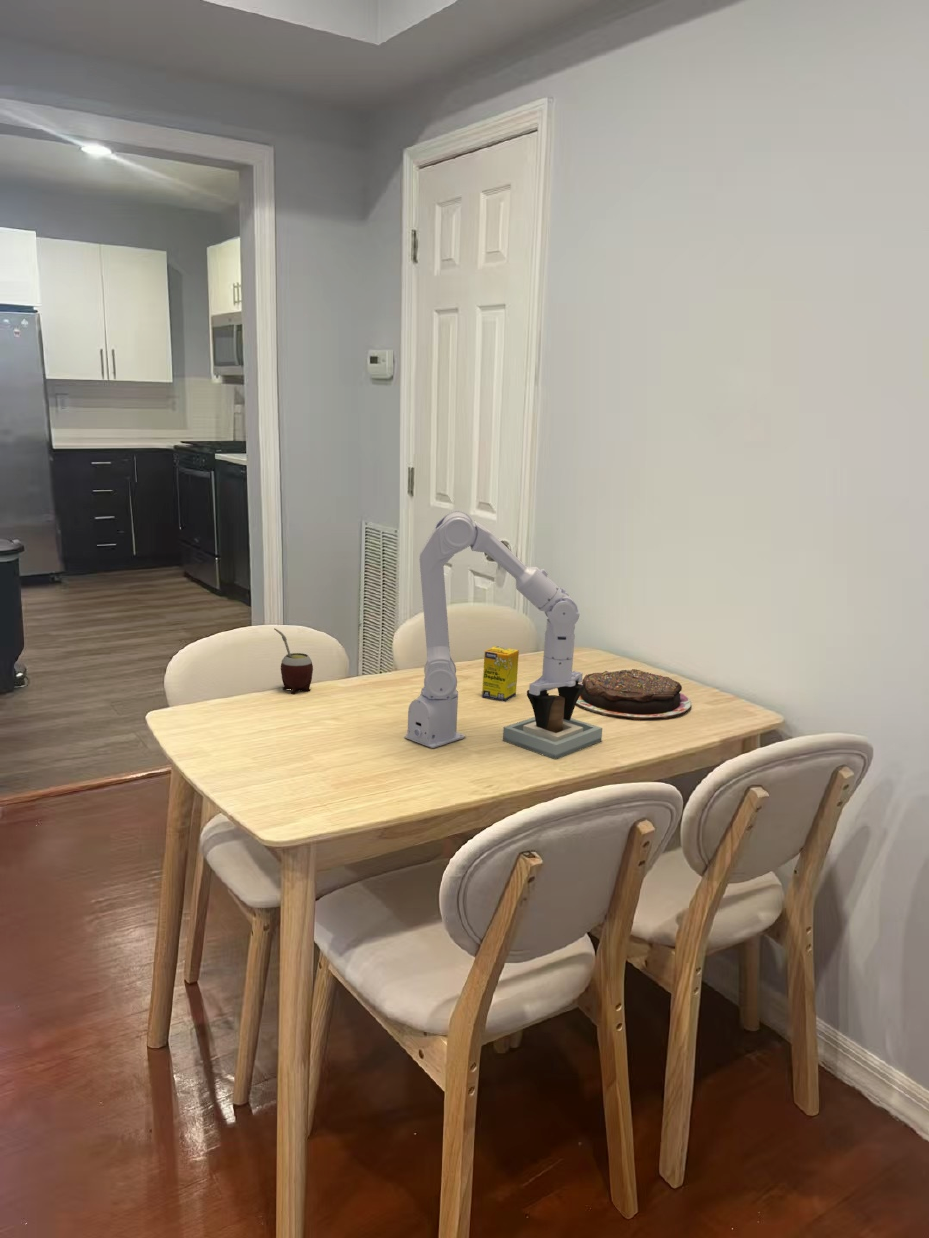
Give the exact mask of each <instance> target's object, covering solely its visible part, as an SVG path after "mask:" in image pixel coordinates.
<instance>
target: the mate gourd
mask: <svg viewBox="0 0 929 1238" xmlns="http://www.w3.org/2000/svg"><path fill="white" fill-rule="evenodd" d="M273 629H274V631H276V632H277V633H278V634H279V635H280V636H281V639H282V641H283V642H284V646H285V648H286V649H285V650H286V652H287V653H286V655H285V656H284V657H283V658H282V659H281V663H280V674H281V680H282V683H283V687H282V690H283V691H287V690H286V689H291V690H290V691H291V693H290V694H291V695H296V693H297V692H311V689H310V686H311V683H312V680H313V671H314V667H313V666H314V665H313V662H312V659H311V657H310V656H309V654H307V653H303V652H292V653H291V651H290V648H289V645H288V642H287V637H286V635H285V634H284V633H283V632H282V631H281V630H278V629H277V628H276V627H275V628H273Z"/></svg>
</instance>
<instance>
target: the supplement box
mask: <svg viewBox="0 0 929 1238" xmlns="http://www.w3.org/2000/svg"><path fill="white" fill-rule="evenodd" d="M519 652H520V651H519V650H518V649H512V648H507V647H501V646H497V645H495V646H493V647H490V648H488V649H486V650H485V651H484V655H483V657H484V660H483V673H482V674H483V675H482V691H481V692H482V693H481V697H482V698H487V699H492V700H496V701H501V702H505V703H506V702H507V701H509V700H510V699H512V698H514V697H516V695H517V694H516V693H517V684H518V682H517V681H518V668H519V655H520V653H519Z"/></svg>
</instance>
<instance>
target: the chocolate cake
mask: <svg viewBox="0 0 929 1238" xmlns="http://www.w3.org/2000/svg"><path fill="white" fill-rule="evenodd" d="M579 684H581V685H583V686H584V691H583V692H582V693H581V695H580V697H579V698H578V700H577V702H576V705H575V707H578V708H581V709H584V710H586V711H590V712H593V713H596V714H599V715H601V716H606V717H618V718H627V719H631V720H634V721H643V720H649V719H659V718H660V719H664V720H667V719H672V718H675V717H678V716H681V715H683V714H685V713H686V712H688V710H689V709H691V706H692V701H691V700H690V699H689V697H688V696H687V695H685V694H684V693H681V691H682V690H683V686H682V684H681V683H680V682H678V681H676V680H674V679H672V678H671V677H669V676H663V675H658V674H656V673H655V674H654V673H652V672H646V671H642V670H640V669H637V668H636V669H635V668H632V669H621V670H616V671H614V670H613V671H607V670H605V671H603V672H592V673H587V674H585V676H584V677H583V678H582V682H580V683H579Z"/></svg>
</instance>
